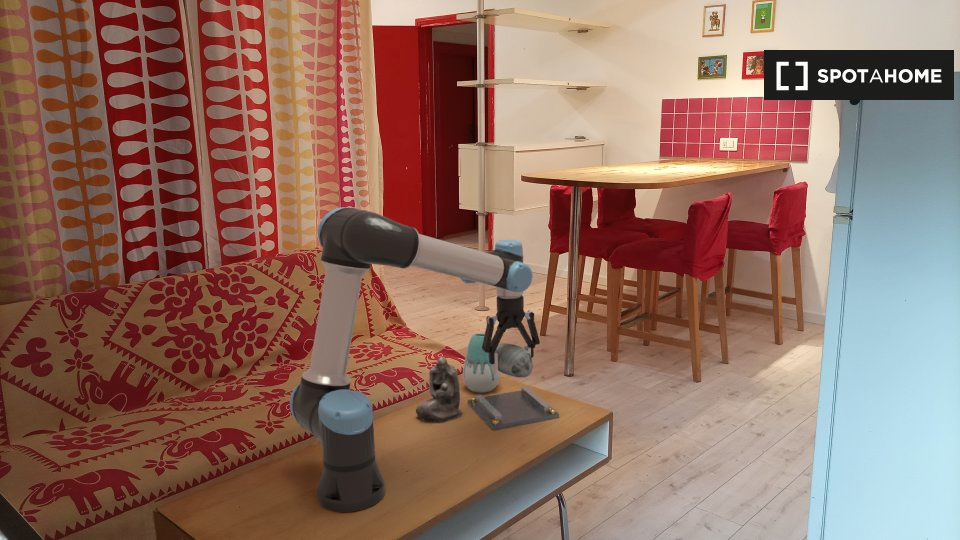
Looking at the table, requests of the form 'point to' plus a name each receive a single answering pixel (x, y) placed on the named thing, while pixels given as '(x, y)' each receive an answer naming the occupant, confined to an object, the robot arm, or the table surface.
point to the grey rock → (514, 360)
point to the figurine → (441, 394)
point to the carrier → (512, 408)
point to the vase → (478, 367)
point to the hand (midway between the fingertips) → (511, 371)
